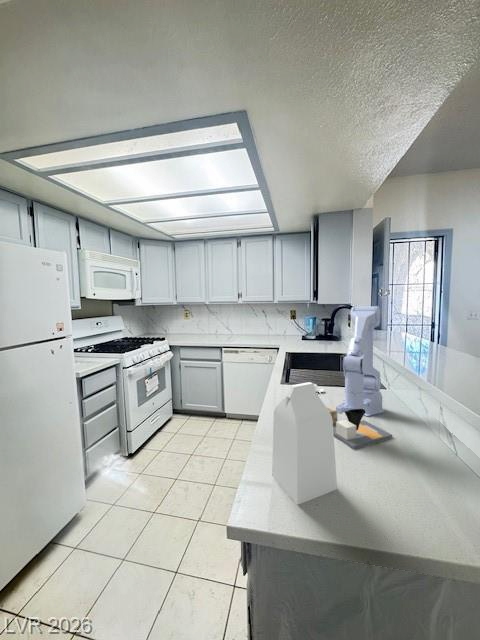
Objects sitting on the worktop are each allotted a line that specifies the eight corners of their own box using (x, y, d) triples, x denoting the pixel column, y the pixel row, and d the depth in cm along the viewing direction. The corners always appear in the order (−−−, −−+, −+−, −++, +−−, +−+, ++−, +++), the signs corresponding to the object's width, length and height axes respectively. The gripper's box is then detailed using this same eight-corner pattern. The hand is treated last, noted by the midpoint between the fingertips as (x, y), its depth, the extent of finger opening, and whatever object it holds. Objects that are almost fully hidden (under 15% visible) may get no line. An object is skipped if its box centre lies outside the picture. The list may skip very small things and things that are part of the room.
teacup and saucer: (326, 392, 136) (326, 384, 135) (319, 397, 130) (319, 388, 129) (310, 389, 141) (310, 381, 141) (302, 393, 136) (302, 385, 135)
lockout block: (330, 419, 105) (330, 406, 105) (337, 423, 101) (337, 410, 101) (321, 421, 104) (321, 408, 103) (328, 425, 100) (328, 412, 100)
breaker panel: (363, 422, 101) (363, 420, 101) (392, 437, 90) (392, 434, 90) (327, 432, 95) (327, 429, 95) (353, 449, 84) (353, 446, 84)
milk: (297, 504, 62) (295, 395, 60) (272, 475, 72) (269, 381, 71) (337, 489, 67) (337, 387, 65) (308, 463, 77) (307, 375, 75)
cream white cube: (345, 430, 93) (345, 419, 93) (356, 437, 89) (356, 425, 88) (336, 433, 92) (336, 421, 91) (346, 439, 87) (346, 428, 87)
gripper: (359, 383, 97) (359, 420, 98) (329, 390, 91) (329, 429, 92) (376, 389, 91) (376, 428, 92) (345, 397, 85) (345, 438, 86)
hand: (354, 429), depth 91 cm, fingers closed
